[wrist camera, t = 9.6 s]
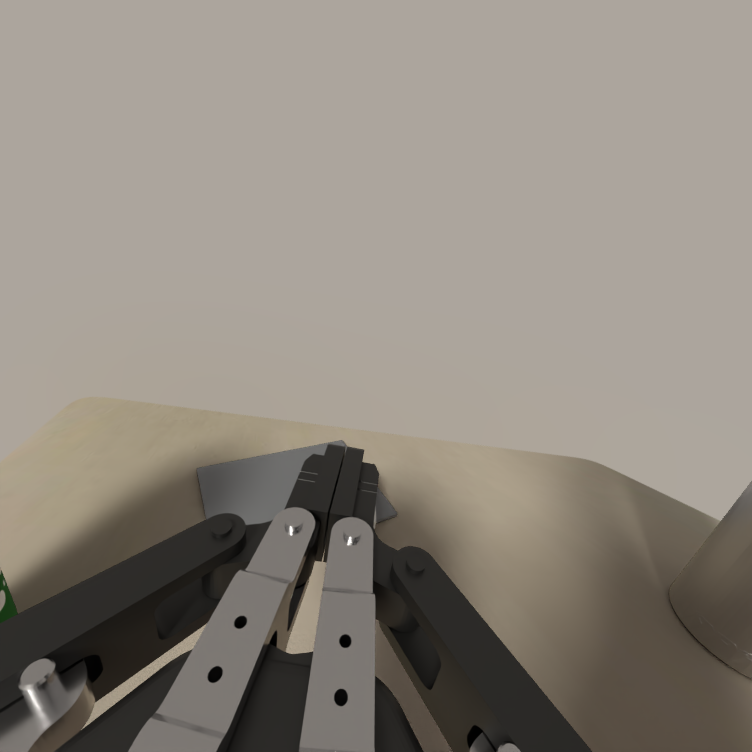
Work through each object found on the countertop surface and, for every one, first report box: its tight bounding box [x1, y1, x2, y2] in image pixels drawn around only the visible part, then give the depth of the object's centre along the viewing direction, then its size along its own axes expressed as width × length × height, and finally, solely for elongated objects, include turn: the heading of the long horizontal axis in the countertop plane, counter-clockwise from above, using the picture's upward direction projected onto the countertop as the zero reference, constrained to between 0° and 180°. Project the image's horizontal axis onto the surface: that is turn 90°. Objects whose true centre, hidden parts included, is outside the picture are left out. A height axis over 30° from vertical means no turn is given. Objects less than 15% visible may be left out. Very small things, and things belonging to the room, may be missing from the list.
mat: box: [197, 440, 397, 525], centre depth 39 cm, size 18×14×1 cm
